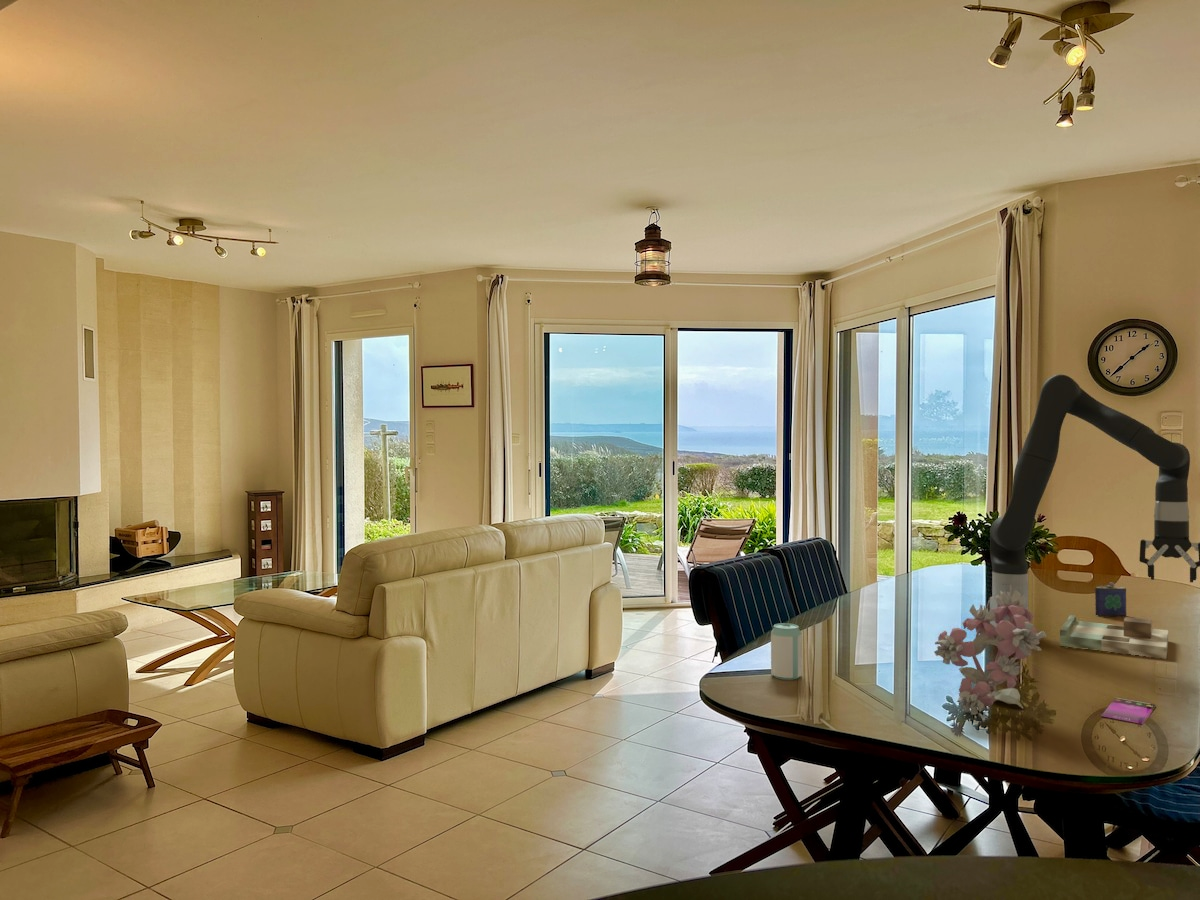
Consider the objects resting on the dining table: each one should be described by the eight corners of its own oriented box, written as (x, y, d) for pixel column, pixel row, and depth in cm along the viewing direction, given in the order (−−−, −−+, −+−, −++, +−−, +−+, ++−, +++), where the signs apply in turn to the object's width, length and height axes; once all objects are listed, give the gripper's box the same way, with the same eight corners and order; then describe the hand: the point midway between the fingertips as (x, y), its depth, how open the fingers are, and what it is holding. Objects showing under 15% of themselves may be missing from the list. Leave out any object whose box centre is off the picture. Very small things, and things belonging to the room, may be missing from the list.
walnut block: (1151, 634, 224) (1151, 619, 224) (1150, 638, 219) (1150, 623, 219) (1125, 631, 227) (1125, 617, 227) (1123, 635, 222) (1123, 620, 222)
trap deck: (1168, 641, 229) (1168, 624, 228) (1166, 659, 210) (1166, 641, 210) (1070, 630, 242) (1070, 615, 242) (1060, 646, 223) (1060, 629, 223)
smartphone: (1156, 708, 173) (1156, 704, 173) (1142, 727, 162) (1142, 722, 162) (1115, 701, 178) (1115, 697, 178) (1100, 718, 166) (1100, 714, 166)
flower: (906, 679, 188) (917, 589, 176) (1002, 667, 189) (1019, 576, 178) (949, 747, 170) (965, 651, 158) (1055, 733, 171) (1078, 636, 160)
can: (765, 674, 198) (765, 623, 198) (790, 671, 201) (790, 621, 201) (781, 682, 192) (781, 630, 192) (807, 678, 194) (807, 627, 194)
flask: (1123, 615, 263) (1123, 581, 263) (1129, 617, 260) (1128, 582, 260) (1093, 615, 264) (1093, 581, 264) (1098, 617, 261) (1098, 582, 261)
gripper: (1204, 518, 218) (1204, 581, 218) (1139, 516, 226) (1139, 576, 226) (1205, 521, 211) (1205, 585, 212) (1138, 518, 220) (1138, 580, 220)
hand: (1171, 580), depth 219 cm, fingers open, 8 cm apart
